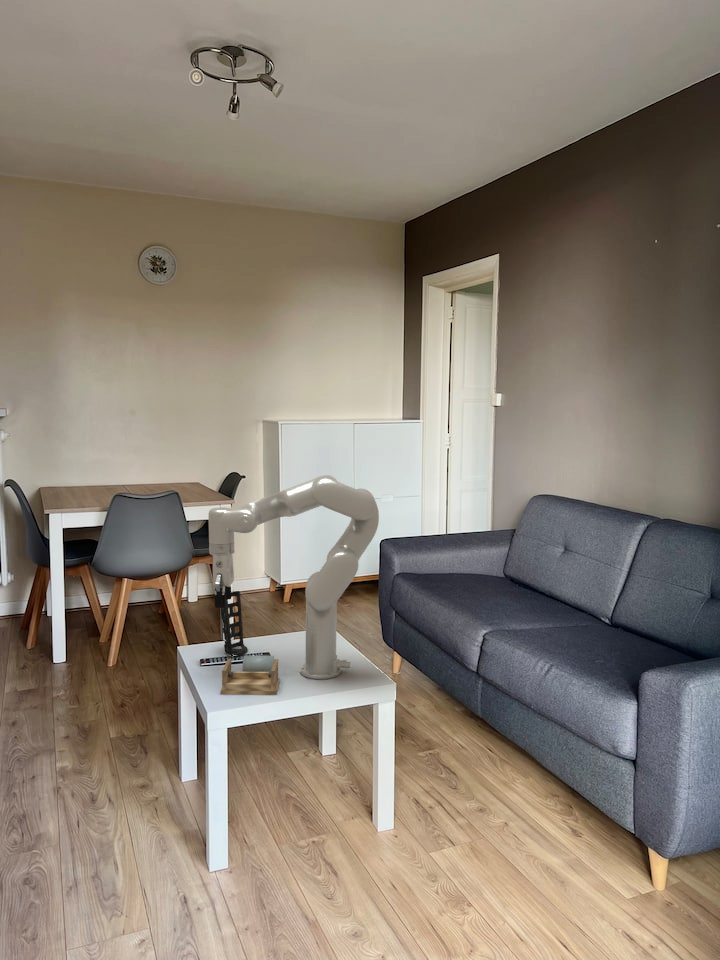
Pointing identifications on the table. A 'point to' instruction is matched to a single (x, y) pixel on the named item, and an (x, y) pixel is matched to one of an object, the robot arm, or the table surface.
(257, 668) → the roll
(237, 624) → the holder
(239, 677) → the cradle
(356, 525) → the robot arm
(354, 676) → the table surface
